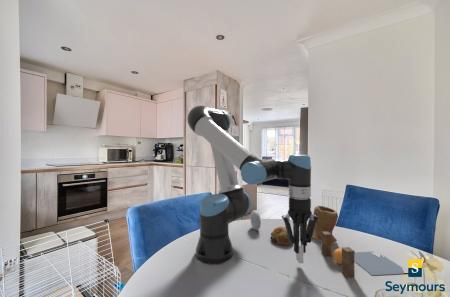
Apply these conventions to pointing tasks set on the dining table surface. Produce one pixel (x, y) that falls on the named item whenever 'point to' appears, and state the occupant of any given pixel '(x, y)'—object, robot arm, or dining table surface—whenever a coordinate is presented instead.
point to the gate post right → (348, 262)
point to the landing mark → (377, 264)
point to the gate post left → (327, 244)
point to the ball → (338, 255)
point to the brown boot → (324, 222)
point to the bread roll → (280, 236)
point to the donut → (255, 220)
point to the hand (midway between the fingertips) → (299, 261)
